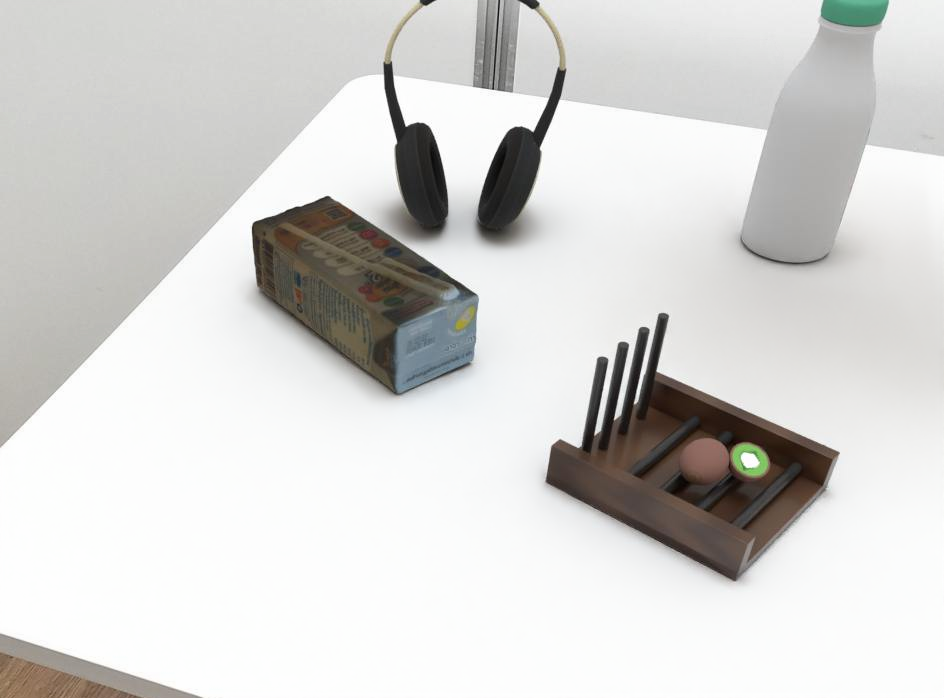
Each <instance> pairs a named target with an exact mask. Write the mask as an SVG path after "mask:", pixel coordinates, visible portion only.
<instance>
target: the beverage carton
mask: <svg viewBox="0 0 944 698" xmlns="http://www.w3.org/2000/svg"><path fill="white" fill-rule="evenodd" d="M251 240H252V251H253V262H254V268H255V270H254V271H255V280H256V286H257V288H258V289H259V290H261V291H262V292H263V293H264V294H266V295H267V296H268V297H270V298H271V299H272V300H274V301H275V302H276V303H277V304H278V305H280V307H282V308H284V309H285V310H287V312H289V313H290V314H292V315H293V316H294V317H296V318H297V319H298V320H300V321H301V322H302V323H303V324H304V325H306V326H307V327H309V328H310V329H311V330H312V331H314V332H315V333H317V335H319V336H320V337H322V339H324V340H326V341H327V342H328V343H329V344H330V345H332V346H334V347H335V348H336V349H337V350H338V351H340V352H341V353H342V354H344V355H345V356H346V357H347V358H349V359H350V360H351V361H352V362H354V363H355V364H357V365H358V366H359V367H360V368H362V369H363V370H364V371H366V372H367V373H368V374H369V375H371V376H372V377H374V378H376V379H377V380H379V381H380V382H381V383H382V384H383V385H384V386H386V387H388V388H389V389H390V390H392V391H393V392H394V393H395V394H396V395H398V394H403V393H404V392H406V391H408V390H410V389H412V388H413V389H414V388H415V387H418V386H419V385H421V384H424V383H426V382H428V381H431V380H432V379H433V380H434V379H435V378H436V377H439V376H441V375H444V374H446V373H448V372H450V371H453V370H454V369H458V368H459V367H462V366H464V365H466V364H468V363H470V362H472V361H473V360H474V358H475V347H476V344H477V322H478V321H477V318H478V310H479V309H478V308H479V302H480V298H479V295H478V294H477V293H476V292H474V291H473V290H471V289H470V288H468V287H466V285H465V284H463V283H461V282H460V281H458V280H457V279H455V278H453V277H452V276H450V275H449V274H447V273H446V272H445V271H444V270H442V269H441V268H439V267H438V266H436V265H435V264H433V263H432V262H430V261H429V260H427V258H425V257H423V256H422V255H420V254H418V253H417V252H416V251H414V250H413V249H411V248H409V247H408V246H406V245H405V244H403V243H402V242H400V241H399V240H398V239H397V238H395V237H393V236H392V235H390V234H388V233H387V232H386V231H384V230H382V229H381V228H379V226H376V225H375V224H374V223H372V222H370V221H369V220H367V219H365V217H362V216H361V215H359V213H357V212H355V211H353V210H352V209H350V208H348V207H347V206H345V204H343V203H341V202H339V201H338V200H335V199H334V198H332V196H330V195H326V196H323V197H321V198H318V199H316V200H313V201H312V202H308V203H306V204H303V205H300V206H299V205H297V206H294V207H291V208H288V209H286V210H285V211H281V212H279V213H277V214H275V215H271V216H267V217H264V218H261V219H259V220H255V221H254V222H253V223H252V224H251Z"/></svg>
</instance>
